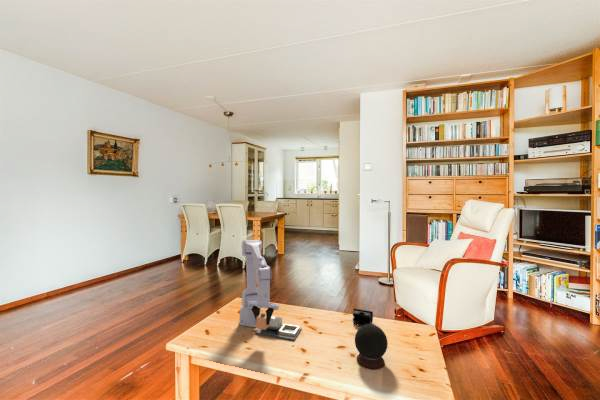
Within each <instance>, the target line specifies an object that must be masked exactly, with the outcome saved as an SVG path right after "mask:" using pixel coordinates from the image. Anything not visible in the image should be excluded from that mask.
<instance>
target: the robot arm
mask: <svg viewBox="0 0 600 400" xmlns="http://www.w3.org/2000/svg"><path fill="white" fill-rule="evenodd" d="M262 249H263V241H262V240H261V239H246V240H245V239H243V240H242V242H241V254H242V256H243V257H245V264H246V265H245V266H246V267H245V268H246V288H245V289H244V290H243V291H242V294H241V305H242V306H241V307H240V310H239V322H238V326H243V327H250V328H256V317H257V316H258V315H259V314H260V313H261V309H263V308H264V309H266V310H265V314H266V317H267V321H266V323H267V325H269V324H270V319H271V316H273V313H274V311H279V307H280V305H279V304H278V303H274V302H271V301H270V300H271V297H270V296H271V291H270V289H271V288H270V287H271V280H272V277H273V272H272V268H271V266H270V265H268V264H267V260H266V259H265V257H264V256H262Z"/></svg>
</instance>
